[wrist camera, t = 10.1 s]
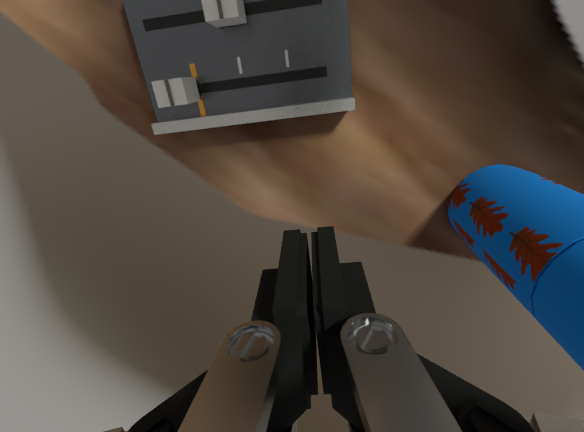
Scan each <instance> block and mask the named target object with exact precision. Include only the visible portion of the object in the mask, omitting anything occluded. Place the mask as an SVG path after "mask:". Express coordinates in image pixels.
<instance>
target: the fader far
mask: <svg viewBox="0 0 584 432" xmlns="http://www.w3.org/2000/svg"><path fill="white" fill-rule="evenodd" d="M151 83H152V87H153V90H154V94H155V97H156V101H157V104H158V108H162V107H170V106H177V105H185V104H190V103H194V102H198V101H201V100H200V96H199V92H198V87H197V83H196V79H195V77H180V78H173V79H166V80H159V81H152V82H151Z"/></svg>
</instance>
